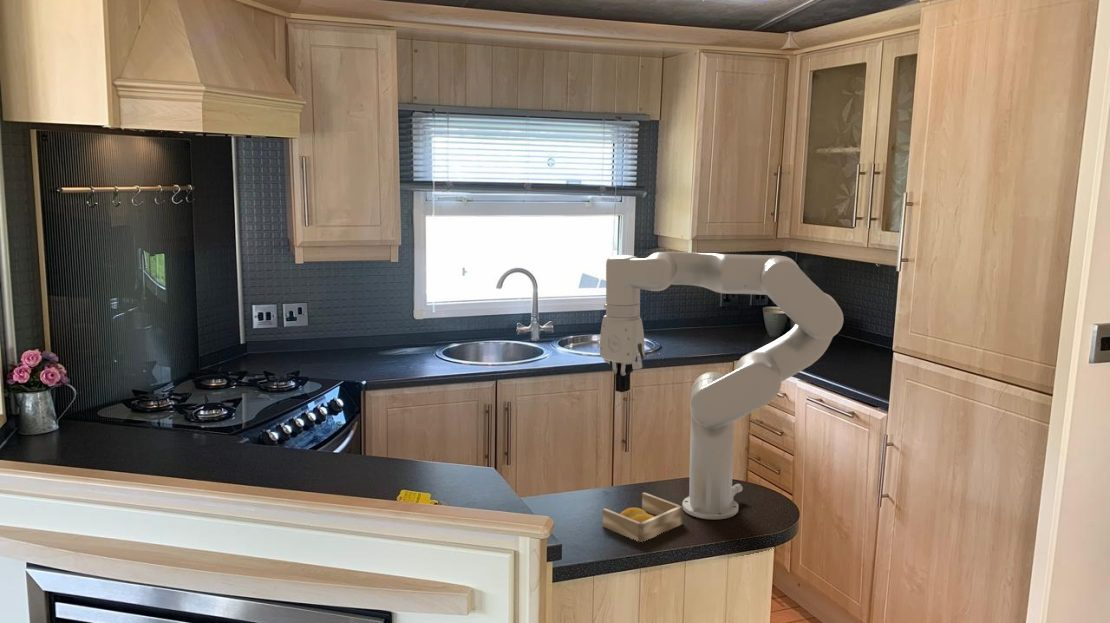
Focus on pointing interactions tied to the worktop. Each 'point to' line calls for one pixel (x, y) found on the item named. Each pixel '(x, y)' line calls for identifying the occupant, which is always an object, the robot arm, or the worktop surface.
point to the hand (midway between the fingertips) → (622, 390)
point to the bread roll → (636, 514)
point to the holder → (664, 520)
